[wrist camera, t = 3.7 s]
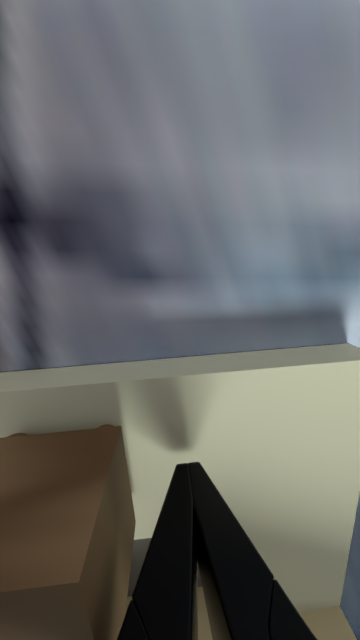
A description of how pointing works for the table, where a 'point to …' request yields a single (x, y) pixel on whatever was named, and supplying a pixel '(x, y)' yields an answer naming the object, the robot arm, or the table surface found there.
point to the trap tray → (228, 451)
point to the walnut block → (64, 535)
